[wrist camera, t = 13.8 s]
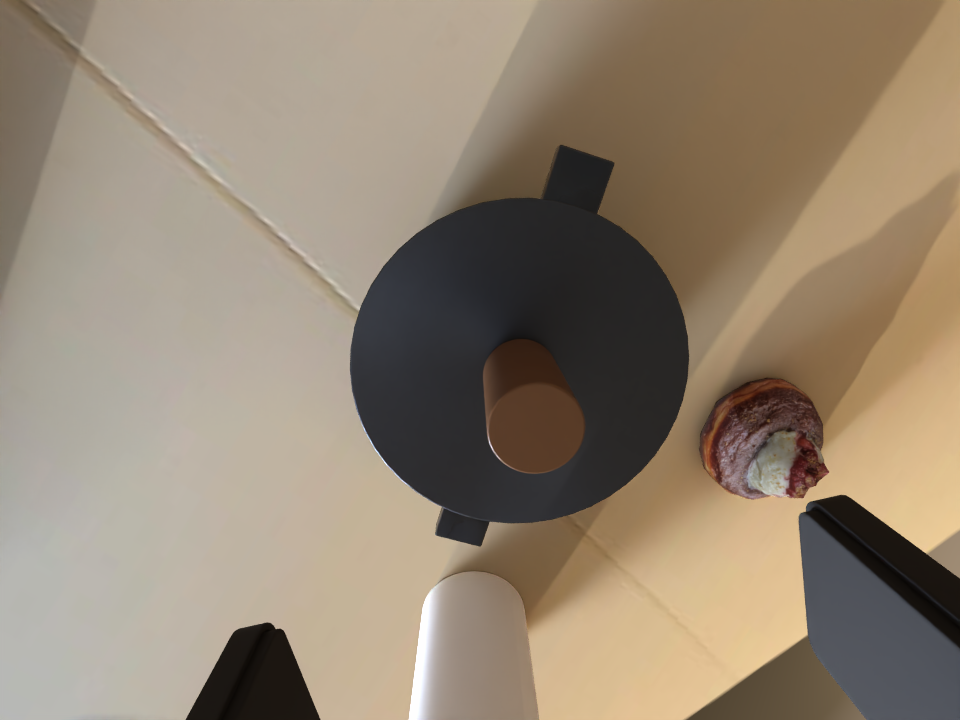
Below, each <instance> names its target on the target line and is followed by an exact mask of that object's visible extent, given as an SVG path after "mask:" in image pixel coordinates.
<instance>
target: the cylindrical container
mask: <svg viewBox="0 0 960 720" xmlns="http://www.w3.org/2000/svg"><path fill="white" fill-rule="evenodd" d="M409 720H539V714H538V707H537V699H536V692H535V684H534V677H533V669H532V662H531V654H530V647H529V639H528V632H527V624H526V617H525V609H524V604H523V601H522V599H521V596H520V595H519V593H518V592H517V590H516V589H515V588H514V587H513V586H512V585H511V584H510V583H509V582H507V581H506V580H504V579H503V578H501V577H498V576H496V575H494V574H490V573H486V572H479V571H469V572H461V573H458V574H454V575H452V576H450V577H447V578H445V579H443V580H442V581H441V582H439V583H438V584H437V585H436V586H435V587H434V588H433V589H432V590H431V591H430V593H429V594H428V596H427V598H426V600H425V603H424V606H423V611H422V619H421V627H420V635H419V643H418V651H417V659H416V667H415V675H414V683H413V691H412V700H411V708H410V716H409Z"/></svg>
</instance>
